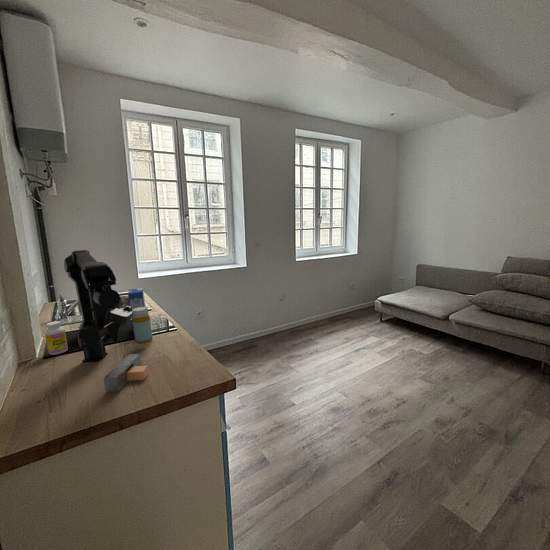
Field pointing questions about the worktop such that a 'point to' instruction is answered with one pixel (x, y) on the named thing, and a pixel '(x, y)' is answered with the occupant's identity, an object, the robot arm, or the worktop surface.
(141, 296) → the milk carton
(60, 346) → the supplement bottle
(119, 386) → the housing
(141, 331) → the bottle
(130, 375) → the plug
